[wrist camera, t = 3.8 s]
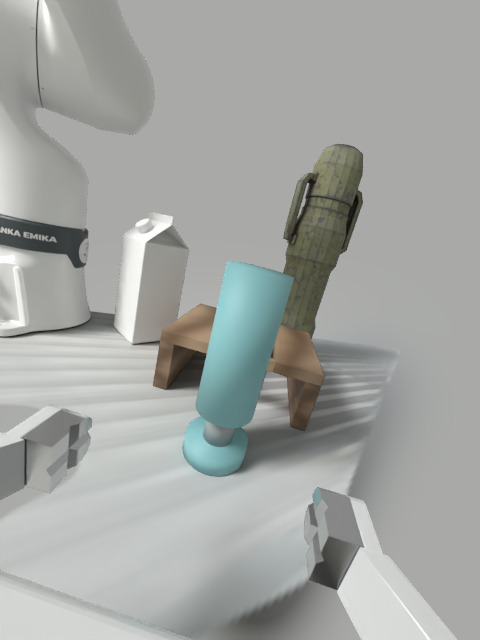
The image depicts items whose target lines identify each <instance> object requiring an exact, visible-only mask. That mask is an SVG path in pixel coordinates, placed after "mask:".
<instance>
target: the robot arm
mask: <svg viewBox="0 0 480 640" xmlns="http://www.w3.org/2000/svg"><path fill="white" fill-rule="evenodd" d="M153 106H154V84H153V79H152V75H151V72H150V69H149V66H148V63H147V61H146V60H145V57H144V56H143V54H142V53H141V51H140V50H139V48H138V47H137V45H136V43H135V41H134V40H133V38H132V36H131V34H130V32H129V30H128V28H127V26H126V23H125V21H124V18H123V16H122V13H121V10H120V7H119V4H118V1H117V0H0V336H13V335H18V334H23V333H28V332H33V331H44V330H56V329H63V328H69V327H73V326H77V325H80V324H82V323H84V322H86V321H88V320H89V319H90V317H91V313H90V310H89V306H88V302H87V296H86V288H85V276H84V266H85V265H86V262H87V257H88V245H89V243H88V242H89V241H88V230H87V229H86V228H85V226H86V211H87V196H88V177H87V174H86V172H85V170H84V168H83V166H82V165H81V163H80V162H79V161H78V160H77V159H76V158H75V157H74V156H73V155H72V154H71V153H70V152H69V151H68V150H67V149H65V148H64V147H63V146H62V145H60V144H59V143H58V142H57V141H55V140H54V139H53V138H51V137H50V136H49V135H48V134H47V133H45V132H44V131H43V130H42V129H41V127H40V126H39V125H38V123H37V121H36V116H35V110H36V108H38V107H40V108H46V109H48V110H51V111H53V112H56V113H59V114H61V115H64V116H66V117H69V118H71V119H74V120H77V121H80V122H82V123H84V124H87V125H90V126H93V127H95V128H97V129H101V130H106V131H111V132H116V133H123V134H128V135H134V134H136V133H138V132H139V131H140V130H141V129H142V128H143V127H144V126H145V125H146V124H147V122H148V121H149V119H150V116H151V114H152V111H153ZM91 427H92V419H91V418H90V417H88V416H85V415H82V414H79V413H76V412H73V411H70V410H67V409H63V408H60V407H57V406H54V405H49V406H46V407H44V408H43V409H41V410H40V411H38V412H37V413H35V414H34V415H32V416H31V417H29V418H28V419H26V420H25V421H24V422H22V423H21V424H19V425H17V426H16V427H14V428H13V429H11V430H10V431H8V432H7V433H2V432H0V500H1V499H3V498H5V497H7V496H9V495H11V494H13V493H15V492H17V491H19V490H21V489H22V488H24V486H27V487H30V488H34V489H37V490H40V491H43V492H47V493H51V492H52V491H53V490H54V489H55V488H56V487H57V485H58V484H59V483H60V482H61V481H62V480H63V479H64V478H65V477H66V475H67V469H69V468H71V467H74V466H76V465H77V464H78V463H79V462H80V461H81V460H82V459H83V457H84V455H85V454H86V452H87V450H88V448H89V445H90V440H91V437H90V435H89V433H88V430H89V429H90V428H91ZM313 502H314V503H312V504H310V505H308V508H307V511H306V514H305V520H304V537H305V540H306V542H307V544H308V545H309V549H308V551H307V553H306V558H307V568H308V578H309V580H311V581H314V582H316V583H319V584H322V585H325V586H327V587H330V588H333V589H335V590H338V591H337V593H338V595H339V597H340V599H341V601H342V603H343V605H344V607H345V609H346V611H347V613H348V615H349V617H350V619H351V621H352V622H353V624H354V626H355V628H356V630H357V632H358V634H359V636H360V638H361V640H457V639H456V637H455V636H454V635H453V634H452V632H451V631H450V630H449V629H448V628H447V626H446V625H445V624H444V623H443V622H442V620H441V619H440V618H439V617H438V615H437V614H436V613H435V612H434V611H433V609H432V608H431V607H430V606H429V605H428V603H427V602H426V601H425V600H424V599H423V597H422V596H421V595H420V594H419V592H418V591H417V590H416V589H415V588H414V586H413V585H412V584H411V583H410V582H409V581H408V579H407V578H406V577H405V575H404V574H403V573H402V572H401V571H400V569H399V568H398V567H397V566H396V565H395V563H394V562H393V561H392V560H391V558H390V557H389V556H387V555H384V554H383V551H382V549H381V546H380V543H379V540H378V538H377V535H376V532H375V529H374V526H373V524H372V521H371V518H370V515H369V512H368V510H367V507H366V504H365V502H364V501H363V500H360V499H357V498H353V497H349V496H346V495H343V494H339V493H336V492H332V491H329V490H326V489H322V488H319V487H317V488H316V489H315V491H314V493H313ZM0 640H193V639H190V638H187V637H184V636H181V635H179V634H176V633H173V632H170V631H168V630H165V629H162V628H159V627H157V626H154V625H151V624H148V623H145V622H143V621H140V620H137V619H134V618H132V617H129V616H126V615H123V614H120V613H118V612H115V611H112V610H109V609H106V608H104V607H101V606H98V605H95V604H93V603H90V602H87V601H84V600H81V599H79V598H76V597H73V596H70V595H67V594H65V593H62V592H59V591H56V590H54V589H51V588H48V587H45V586H42V585H40V584H37V583H34V582H31V581H29V580H26V579H23V578H20V577H17V576H15V575H12V574H9V573H6V572H4V571H1V570H0Z"/></svg>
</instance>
